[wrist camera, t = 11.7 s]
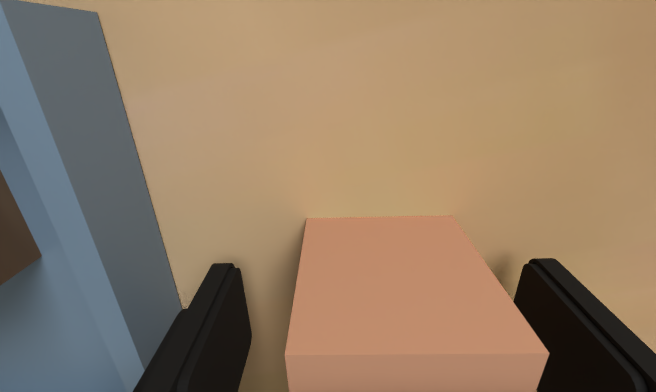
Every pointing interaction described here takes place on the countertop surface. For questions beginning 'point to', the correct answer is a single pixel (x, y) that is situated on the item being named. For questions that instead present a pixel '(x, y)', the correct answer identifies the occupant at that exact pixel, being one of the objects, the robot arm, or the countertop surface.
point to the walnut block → (14, 236)
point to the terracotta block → (404, 312)
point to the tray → (75, 213)
